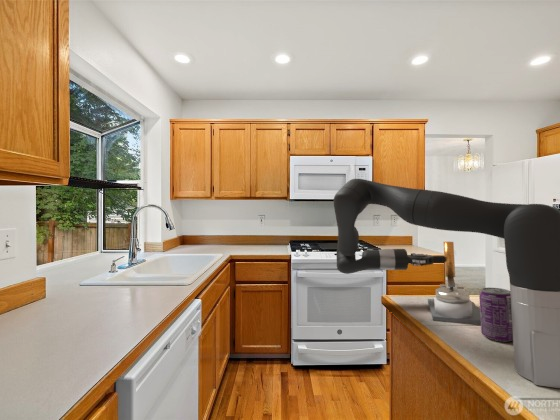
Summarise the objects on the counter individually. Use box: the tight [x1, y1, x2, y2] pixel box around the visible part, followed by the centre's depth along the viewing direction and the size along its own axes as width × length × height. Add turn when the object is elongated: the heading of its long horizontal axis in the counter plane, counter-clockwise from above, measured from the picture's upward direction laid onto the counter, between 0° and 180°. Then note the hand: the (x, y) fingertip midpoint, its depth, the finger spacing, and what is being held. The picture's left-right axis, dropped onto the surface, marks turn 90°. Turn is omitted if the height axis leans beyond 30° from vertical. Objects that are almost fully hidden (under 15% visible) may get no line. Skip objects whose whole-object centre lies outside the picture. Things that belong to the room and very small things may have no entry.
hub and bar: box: [435, 241, 471, 303], centre depth 95 cm, size 19×9×16 cm, turn 151°
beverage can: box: [478, 287, 513, 343], centre depth 74 cm, size 7×7×12 cm
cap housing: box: [427, 296, 481, 326], centre depth 94 cm, size 20×14×5 cm
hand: (444, 259), depth 103 cm, fingers closed
